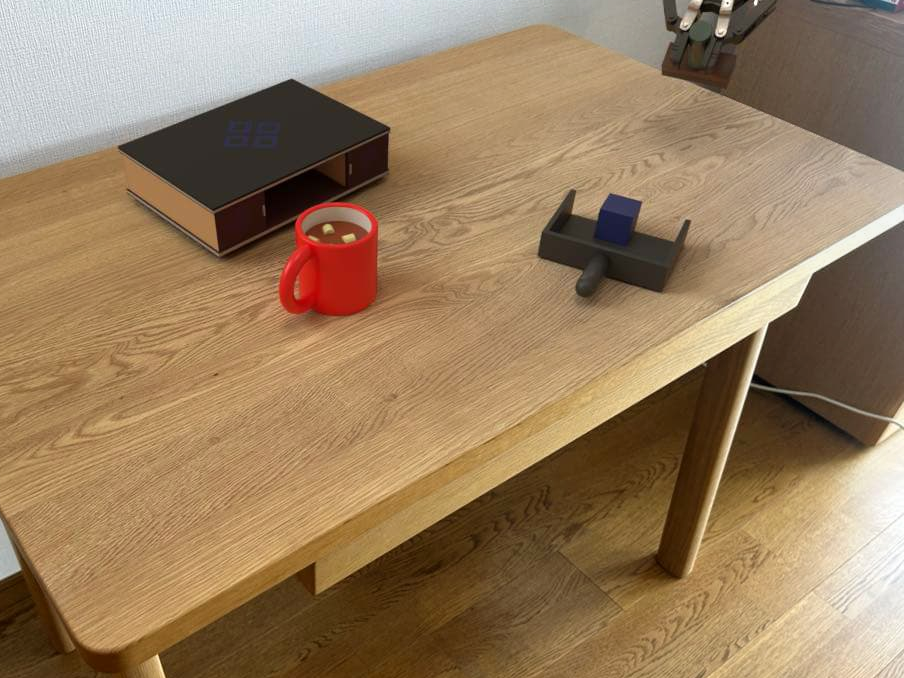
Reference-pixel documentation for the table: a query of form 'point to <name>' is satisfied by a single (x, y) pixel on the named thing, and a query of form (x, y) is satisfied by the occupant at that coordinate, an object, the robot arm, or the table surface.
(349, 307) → the mug
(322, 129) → the low tv stand
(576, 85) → the table surface
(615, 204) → the navy blue toy block
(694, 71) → the brush
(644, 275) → the dustpan
